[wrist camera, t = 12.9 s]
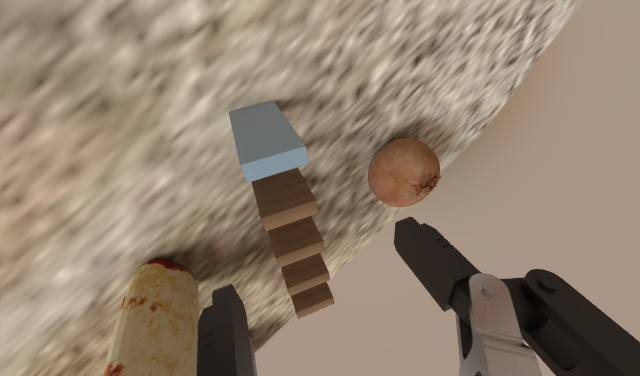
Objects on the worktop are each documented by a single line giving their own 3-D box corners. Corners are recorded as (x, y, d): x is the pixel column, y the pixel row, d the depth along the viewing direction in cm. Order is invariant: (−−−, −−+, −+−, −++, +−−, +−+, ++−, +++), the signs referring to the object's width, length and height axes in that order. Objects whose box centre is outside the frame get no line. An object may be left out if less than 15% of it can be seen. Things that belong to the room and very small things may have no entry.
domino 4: (301, 216, 40) (329, 279, 31) (270, 227, 39) (289, 296, 30) (299, 208, 39) (328, 272, 30) (267, 219, 38) (287, 288, 29)
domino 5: (306, 239, 43) (334, 303, 34) (278, 250, 42) (298, 318, 33) (305, 233, 42) (333, 297, 33) (275, 244, 41) (296, 312, 32)
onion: (397, 113, 35) (450, 143, 28) (418, 156, 41) (466, 190, 34) (343, 158, 36) (380, 199, 29) (372, 193, 42) (408, 235, 35)
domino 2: (286, 155, 33) (318, 213, 24) (248, 166, 32) (265, 231, 23) (284, 144, 32) (315, 200, 23) (244, 155, 31) (261, 218, 22)
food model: (211, 270, 40) (215, 438, 24) (179, 295, 40) (162, 475, 25) (153, 242, 33) (108, 444, 18) (115, 272, 34) (41, 493, 18)
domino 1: (228, 112, 28) (240, 165, 18) (273, 100, 29) (305, 145, 19) (233, 125, 29) (247, 182, 19) (276, 114, 30) (308, 163, 20)
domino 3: (294, 188, 36) (324, 250, 27) (260, 199, 35) (279, 267, 26) (292, 179, 35) (323, 240, 26) (257, 190, 34) (275, 258, 25)
